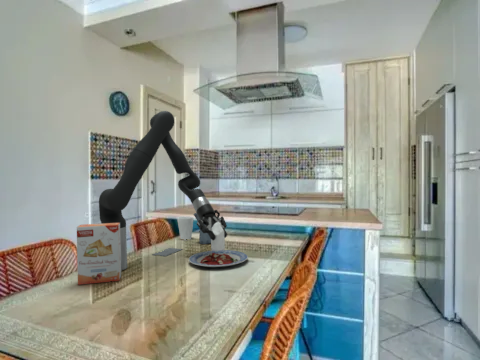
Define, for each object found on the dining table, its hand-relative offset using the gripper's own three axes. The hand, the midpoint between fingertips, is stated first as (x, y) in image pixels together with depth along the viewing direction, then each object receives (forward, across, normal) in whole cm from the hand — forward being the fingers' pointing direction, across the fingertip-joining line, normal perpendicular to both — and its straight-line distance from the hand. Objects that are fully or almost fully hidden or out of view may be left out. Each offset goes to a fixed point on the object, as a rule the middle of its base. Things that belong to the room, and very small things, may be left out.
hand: (220, 237), depth 132 cm
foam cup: (-30, +16, +46) cm, 58 cm away
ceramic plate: (+7, 0, +9) cm, 11 cm away
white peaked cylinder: (+3, 0, +5) cm, 6 cm away
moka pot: (-18, +20, +34) cm, 44 cm away
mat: (-16, -8, +31) cm, 36 cm away
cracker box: (-2, -46, +17) cm, 49 cm away
